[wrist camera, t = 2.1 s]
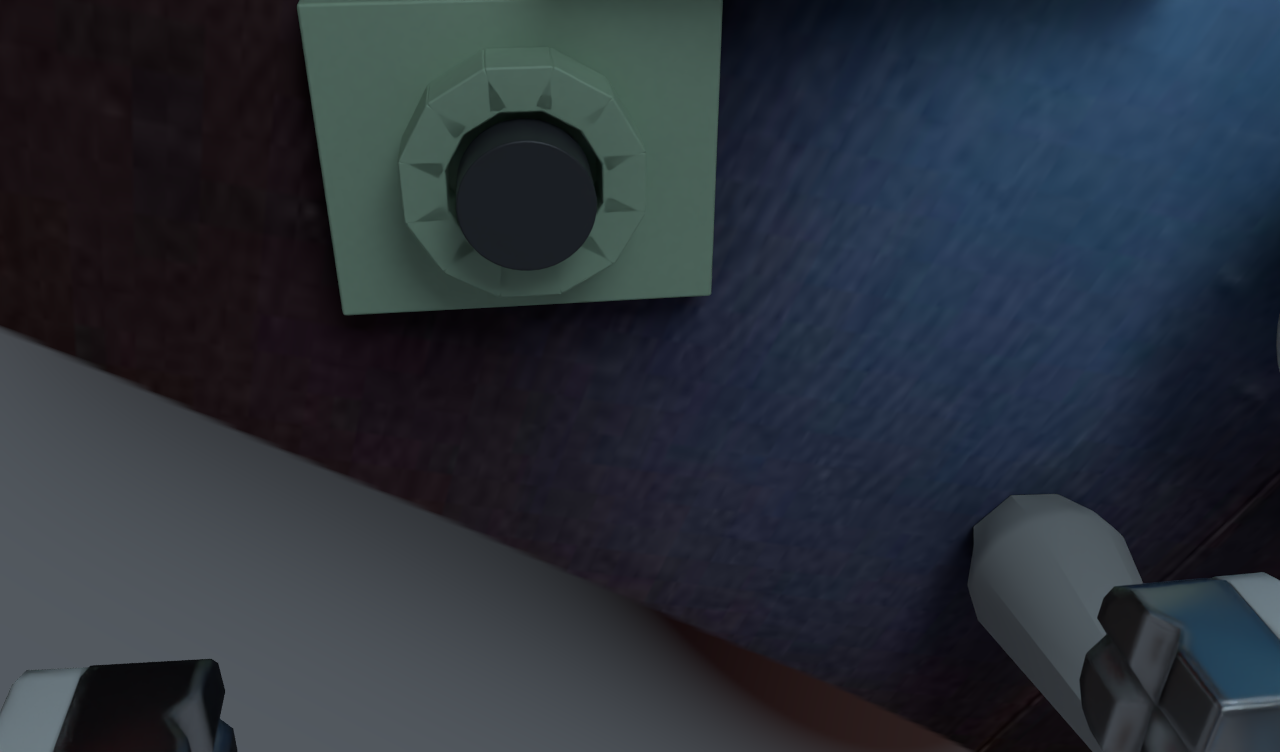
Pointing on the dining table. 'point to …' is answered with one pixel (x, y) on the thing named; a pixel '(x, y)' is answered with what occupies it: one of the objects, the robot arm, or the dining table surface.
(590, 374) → the dining table surface
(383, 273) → the green dial panel
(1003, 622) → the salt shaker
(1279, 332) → the dish
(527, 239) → the tare button
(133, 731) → the robot arm
